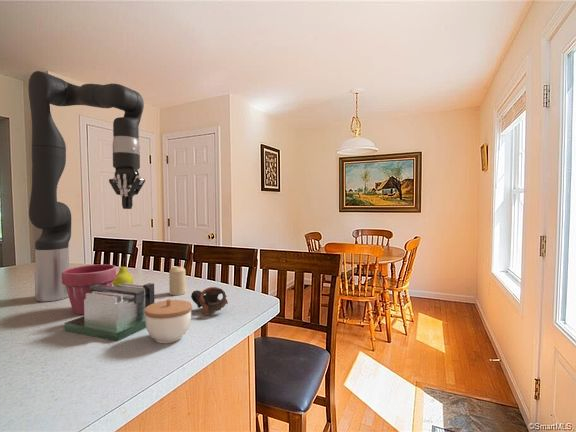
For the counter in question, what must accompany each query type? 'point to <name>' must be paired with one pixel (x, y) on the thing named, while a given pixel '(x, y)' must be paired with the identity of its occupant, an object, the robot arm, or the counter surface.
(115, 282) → the fruit
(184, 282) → the candle
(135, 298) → the grey long bar
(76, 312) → the plant pot
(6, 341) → the counter surface
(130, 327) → the heat sink board
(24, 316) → the counter surface
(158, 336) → the lidded jar
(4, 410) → the counter surface
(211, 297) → the brown glossy rounded piece
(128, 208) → the robot arm
